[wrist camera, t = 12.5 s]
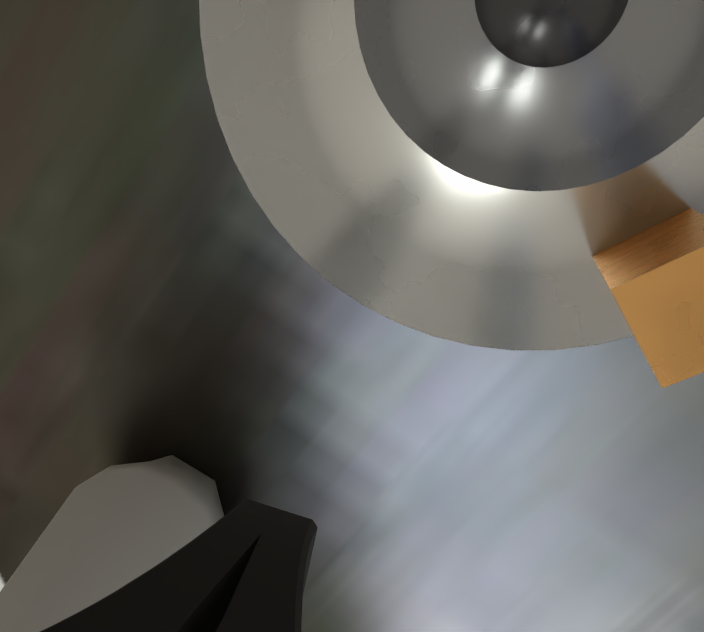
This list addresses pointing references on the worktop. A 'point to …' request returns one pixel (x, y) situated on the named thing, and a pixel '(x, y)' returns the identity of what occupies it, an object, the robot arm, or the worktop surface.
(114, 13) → the worktop surface
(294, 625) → the robot arm
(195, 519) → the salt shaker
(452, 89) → the cover
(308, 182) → the turntable
